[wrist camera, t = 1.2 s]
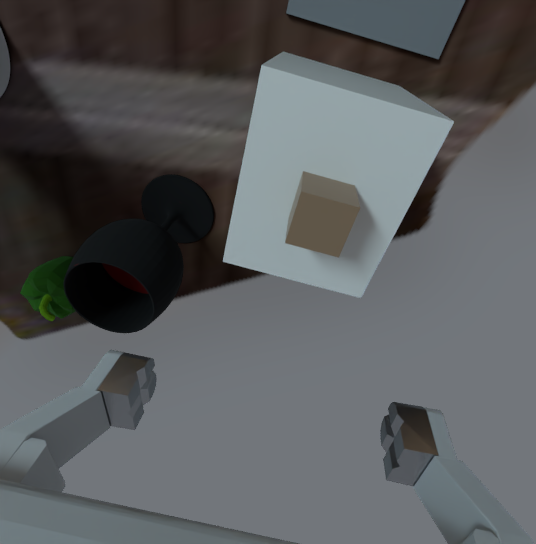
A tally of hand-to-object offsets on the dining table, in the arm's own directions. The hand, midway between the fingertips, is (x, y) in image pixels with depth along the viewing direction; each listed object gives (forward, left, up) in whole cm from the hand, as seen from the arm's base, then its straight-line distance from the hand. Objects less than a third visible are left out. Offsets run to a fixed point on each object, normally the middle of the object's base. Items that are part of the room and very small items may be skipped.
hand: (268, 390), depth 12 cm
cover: (+2, 0, -36) cm, 36 cm away
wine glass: (-14, -14, -36) cm, 41 cm away
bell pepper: (-30, -30, -36) cm, 56 cm away
